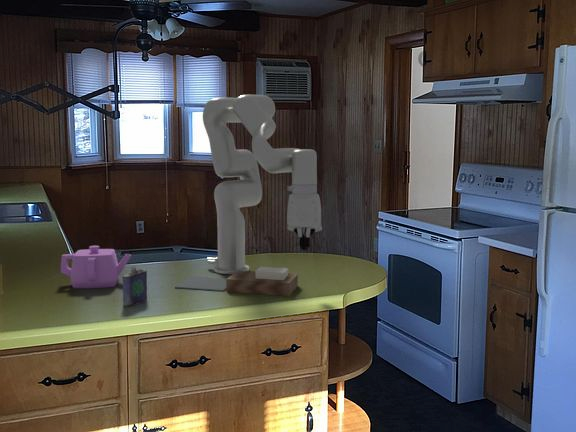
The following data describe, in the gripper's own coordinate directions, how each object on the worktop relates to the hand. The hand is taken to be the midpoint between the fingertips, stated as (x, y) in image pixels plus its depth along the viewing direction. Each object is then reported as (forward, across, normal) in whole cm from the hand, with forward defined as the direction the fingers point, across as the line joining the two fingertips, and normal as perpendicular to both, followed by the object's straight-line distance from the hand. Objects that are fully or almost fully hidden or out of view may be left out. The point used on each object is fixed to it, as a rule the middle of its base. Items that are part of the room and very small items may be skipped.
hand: (304, 249), depth 203 cm
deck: (+13, -14, 0) cm, 19 cm away
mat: (+13, -33, +2) cm, 35 cm away
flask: (+13, -46, -23) cm, 53 cm away
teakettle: (+12, -68, -5) cm, 69 cm away
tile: (+9, -11, 0) cm, 14 cm away
